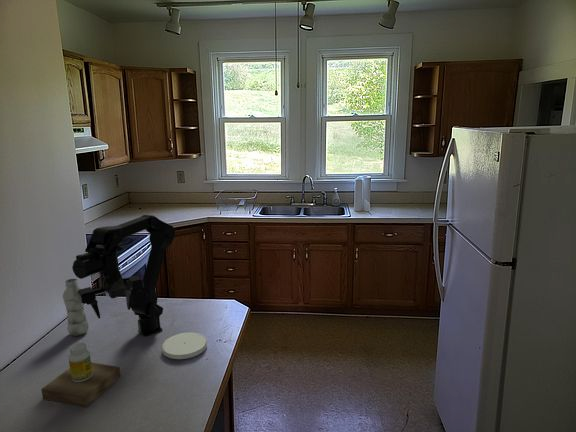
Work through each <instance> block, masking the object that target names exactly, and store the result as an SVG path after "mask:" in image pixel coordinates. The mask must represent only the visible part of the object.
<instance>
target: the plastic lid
mask: <svg viewBox="0 0 576 432" xmlns="http://www.w3.org/2000/svg"><path fill="white" fill-rule="evenodd" d="M207 343H208V341H207V338H206V336H205V335H203V334H202V333H199V332H198V333H197V332H191V331H190V332H187V331H186V332H181V333H178V334H175V335H172V336H170V337H168V338H166V340H164V341H163V342H162V346H161V347H162V349H161V350H162V354H163V355H164V356H165V357H166V358H169V359H173V360H174V359H175V360H186V359H190V358H194V357H197V356H199V355H200V354H201V353H203V352H204V351H205V350H206V349H207V345H208V344H207Z"/></svg>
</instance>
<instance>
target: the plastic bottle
mask: <svg viewBox="0 0 576 432" xmlns="http://www.w3.org/2000/svg"><path fill="white" fill-rule="evenodd" d="M64 282H65V287H66V288H65V290H64V291H63V293H62V299H63V302H64V306H65V310H66V315H67V331H68V334H69V335H71V336H73V337H74V336H76V337H77V336H82V335H84V334H86V333H87V332H88V330H89V322H88V320H87V316H86V313H85V308H84V307H85V303H81V302H80V300H79V299H78V297H77V292H78V290H79V289H81V288H80V287H79V286H78V285H79V282H78V279H77V278H69V279H67V280H65V281H64Z"/></svg>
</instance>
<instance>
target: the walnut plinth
mask: <svg viewBox="0 0 576 432" xmlns="http://www.w3.org/2000/svg"><path fill="white" fill-rule="evenodd" d="M91 365H92V373H93V374H92V376H91V377H90V378H89V379H88V380H86V381H83V382H74V381H73V380H72V378H71V371H70V367H68V369H66V370H65V371H64V372H62V373H61V374H59V375H58V376H57V377H56V378H54V379H52V380H51V381H50V382H49V383H48V384H46V385H45V386H44V387H42V388H41V396H42V399H43V400H46V401H47V400H48V401H53V402H56V403H61V404H67V405H72V406H79V407H83V408H87V407H88V406H90V405H91V404H92V403H93V402H94V401H95V400H96V399H97V398H98V397H99V396H101V394H103V393H104V392H105V391H106V390H107V389H108V388H109V387H110V386H112V384H114V383H115V382H116V381H117V380H118V379H119V378H120V377H121V367H120V366H116V365H110V364H106V363H98V362H92V361H91Z"/></svg>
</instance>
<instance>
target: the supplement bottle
mask: <svg viewBox="0 0 576 432" xmlns="http://www.w3.org/2000/svg"><path fill="white" fill-rule="evenodd" d="M69 353H70V354H69V355H68V358H67V359H68V364H69V368H70V371H71V378H72V380H73V381H74V382H83V381H86V380H88V379H89V378H90V377H91V376H92V374H93V373H92V365H91V362H92V360H91V353H90V351H89V350H88V349H87V344H86V343H85V342H78V343H75V344H73V345H71V346H70V347H69Z"/></svg>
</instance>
